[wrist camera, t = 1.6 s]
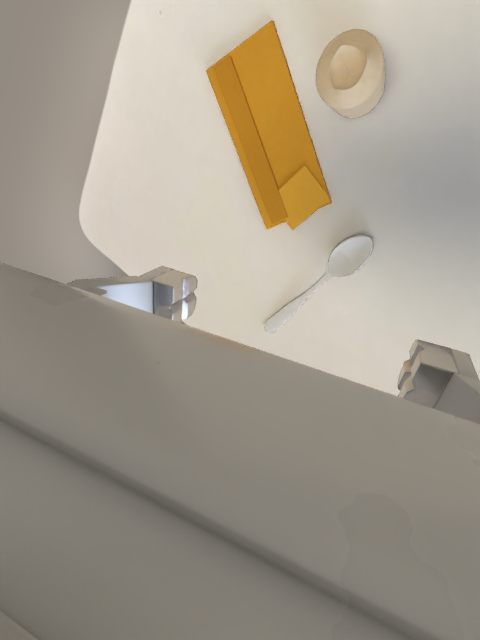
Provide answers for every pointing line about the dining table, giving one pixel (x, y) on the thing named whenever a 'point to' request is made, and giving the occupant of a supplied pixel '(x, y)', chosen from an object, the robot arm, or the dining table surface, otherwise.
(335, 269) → the spoon
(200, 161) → the dining table surface
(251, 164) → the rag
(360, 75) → the candle
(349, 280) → the dining table surface
